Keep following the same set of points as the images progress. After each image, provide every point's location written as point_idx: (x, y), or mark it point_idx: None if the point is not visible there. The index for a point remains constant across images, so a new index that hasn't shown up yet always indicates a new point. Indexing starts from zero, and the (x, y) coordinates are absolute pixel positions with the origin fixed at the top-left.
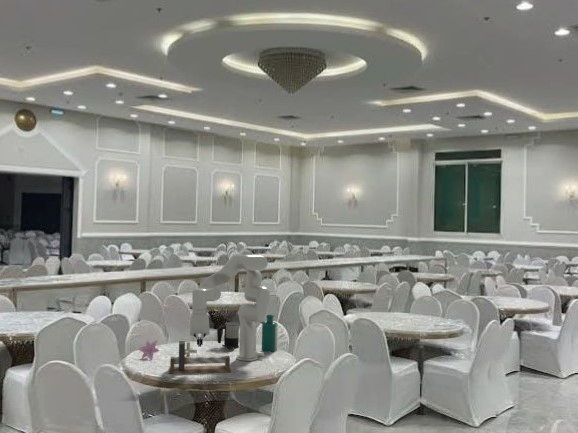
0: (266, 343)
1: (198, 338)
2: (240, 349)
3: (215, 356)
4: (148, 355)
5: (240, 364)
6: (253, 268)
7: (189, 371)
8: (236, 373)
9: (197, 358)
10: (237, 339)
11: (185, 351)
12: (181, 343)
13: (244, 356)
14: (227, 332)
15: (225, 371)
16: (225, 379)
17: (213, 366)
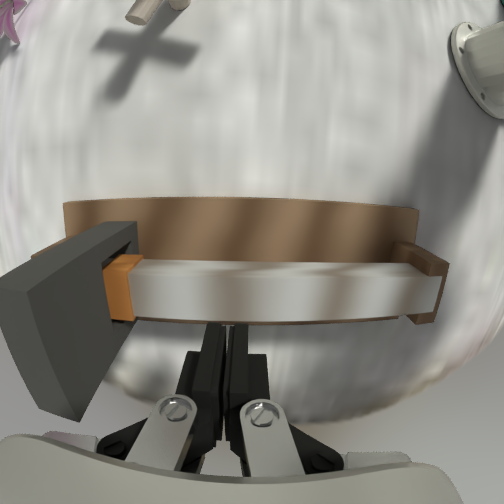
0: None
1: (202, 451)
2: (498, 60)
3: (365, 282)
4: (5, 28)
5: (463, 163)
6: None
7: (176, 322)
8: (408, 329)
9: (214, 318)
10: None
11: (135, 14)
12: (43, 394)
13: (491, 92)
14: None
15: (372, 318)
16: (337, 405)
17: (331, 224)
